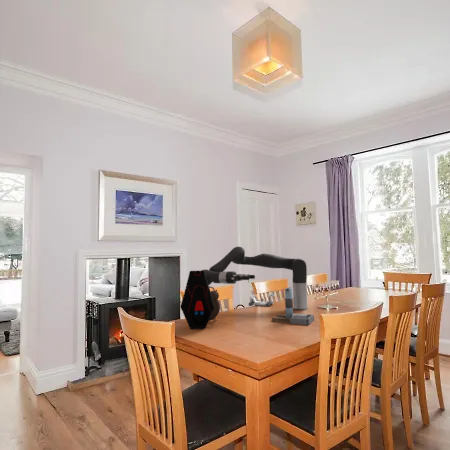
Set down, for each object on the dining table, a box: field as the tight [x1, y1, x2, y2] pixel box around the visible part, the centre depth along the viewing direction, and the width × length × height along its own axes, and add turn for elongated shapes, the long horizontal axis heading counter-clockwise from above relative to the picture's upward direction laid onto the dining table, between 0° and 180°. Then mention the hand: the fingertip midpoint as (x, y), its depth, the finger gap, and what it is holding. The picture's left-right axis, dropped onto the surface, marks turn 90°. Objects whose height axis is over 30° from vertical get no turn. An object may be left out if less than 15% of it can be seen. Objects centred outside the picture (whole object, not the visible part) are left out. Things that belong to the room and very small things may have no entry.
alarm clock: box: [209, 285, 221, 323], centre depth 193 cm, size 15×7×20 cm, turn 81°
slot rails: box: [271, 313, 290, 324], centre depth 192 cm, size 10×11×2 cm
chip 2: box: [299, 313, 308, 319], centre depth 187 cm, size 4×4×4 cm
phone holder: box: [248, 291, 276, 308], centre depth 246 cm, size 18×10×12 cm
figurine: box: [180, 270, 215, 330], centre depth 180 cm, size 18×8×30 cm, turn 84°
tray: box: [289, 314, 315, 326], centre depth 188 cm, size 13×10×3 cm
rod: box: [284, 286, 294, 318], centre depth 191 cm, size 6×4×18 cm
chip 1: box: [292, 313, 301, 318], centre depth 189 cm, size 4×4×4 cm
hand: (251, 277), depth 202 cm, fingers open, 8 cm apart
